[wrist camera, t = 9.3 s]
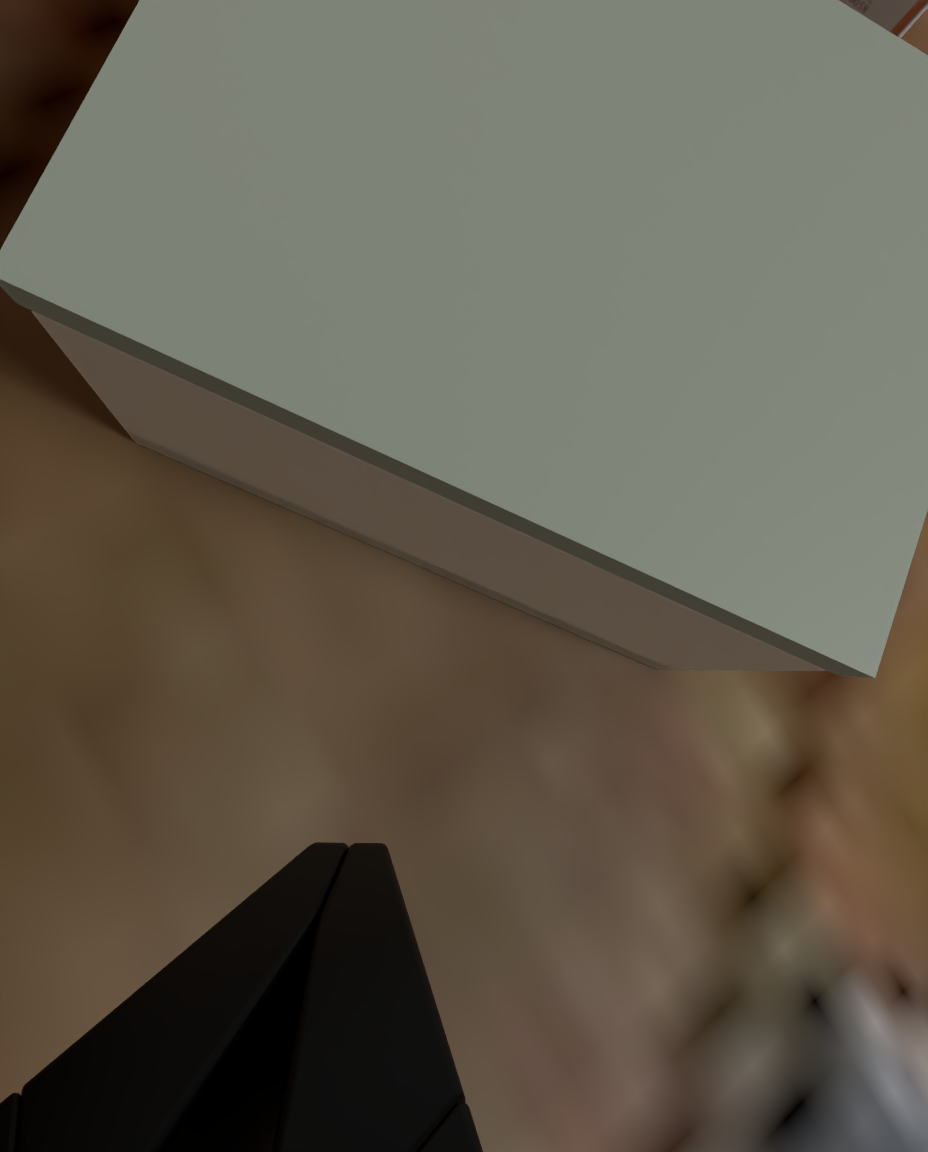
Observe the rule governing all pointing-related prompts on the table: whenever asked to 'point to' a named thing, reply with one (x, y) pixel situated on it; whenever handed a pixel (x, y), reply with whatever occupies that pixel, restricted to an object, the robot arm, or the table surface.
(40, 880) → the table surface
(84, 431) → the table surface
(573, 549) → the chest lid
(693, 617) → the chest
